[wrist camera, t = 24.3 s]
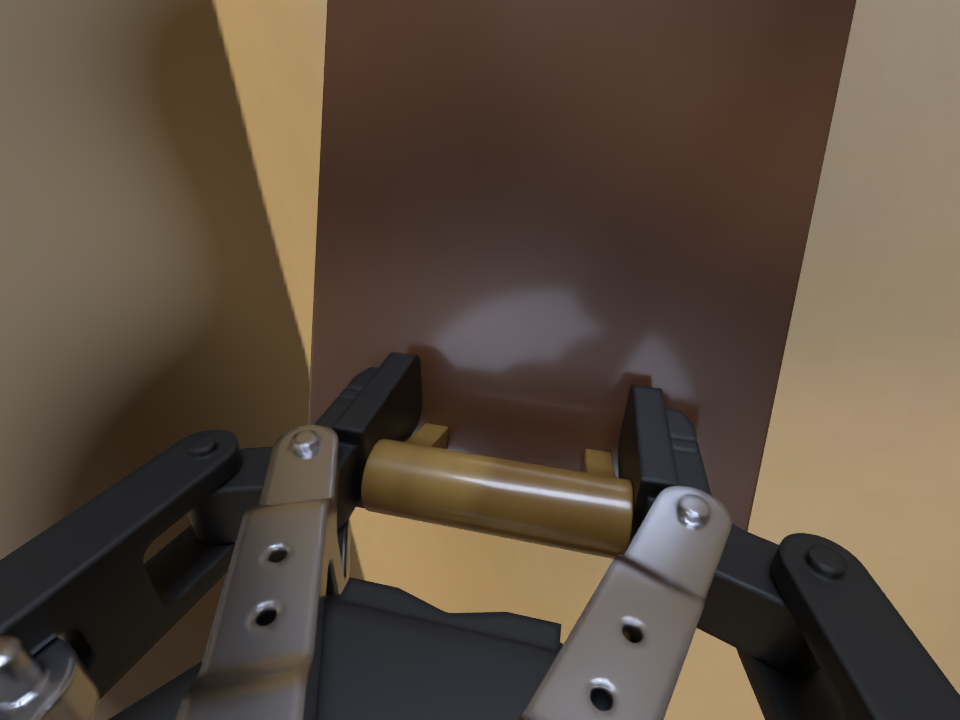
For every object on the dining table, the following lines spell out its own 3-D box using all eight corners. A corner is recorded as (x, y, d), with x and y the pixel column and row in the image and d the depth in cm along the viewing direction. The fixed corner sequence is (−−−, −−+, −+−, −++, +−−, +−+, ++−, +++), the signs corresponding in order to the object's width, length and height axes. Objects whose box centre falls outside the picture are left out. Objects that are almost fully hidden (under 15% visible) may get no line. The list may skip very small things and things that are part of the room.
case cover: (733, 553, 14) (810, 685, 9) (315, 475, 16) (209, 551, 11) (859, -73, 11) (1054, -322, 7) (342, -62, 13) (220, -243, 9)
